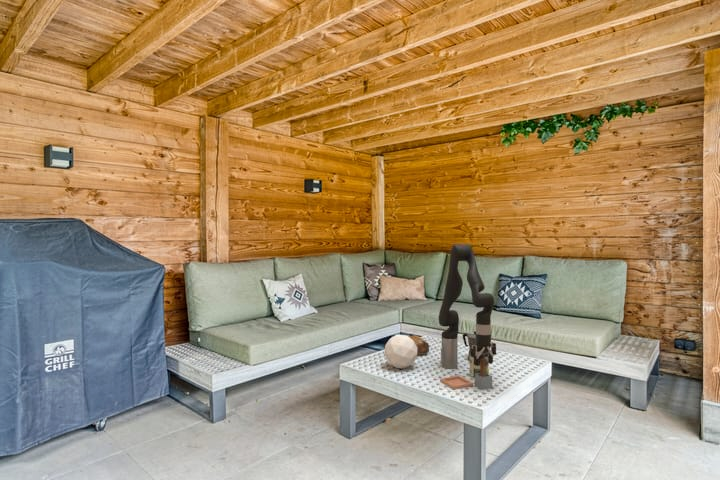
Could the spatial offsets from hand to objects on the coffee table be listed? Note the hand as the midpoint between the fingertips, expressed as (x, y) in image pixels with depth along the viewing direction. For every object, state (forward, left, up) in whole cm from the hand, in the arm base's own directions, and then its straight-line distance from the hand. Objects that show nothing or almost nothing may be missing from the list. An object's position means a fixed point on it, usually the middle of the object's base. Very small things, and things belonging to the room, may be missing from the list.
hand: (483, 364), depth 210 cm
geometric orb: (-46, -23, -13) cm, 53 cm away
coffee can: (-15, +9, -13) cm, 22 cm away
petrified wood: (-69, 0, -13) cm, 70 cm away
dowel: (0, 0, -12) cm, 12 cm away
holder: (0, 0, -12) cm, 12 cm away
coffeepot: (-41, +25, -13) cm, 50 cm away
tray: (-9, -10, -12) cm, 18 cm away
